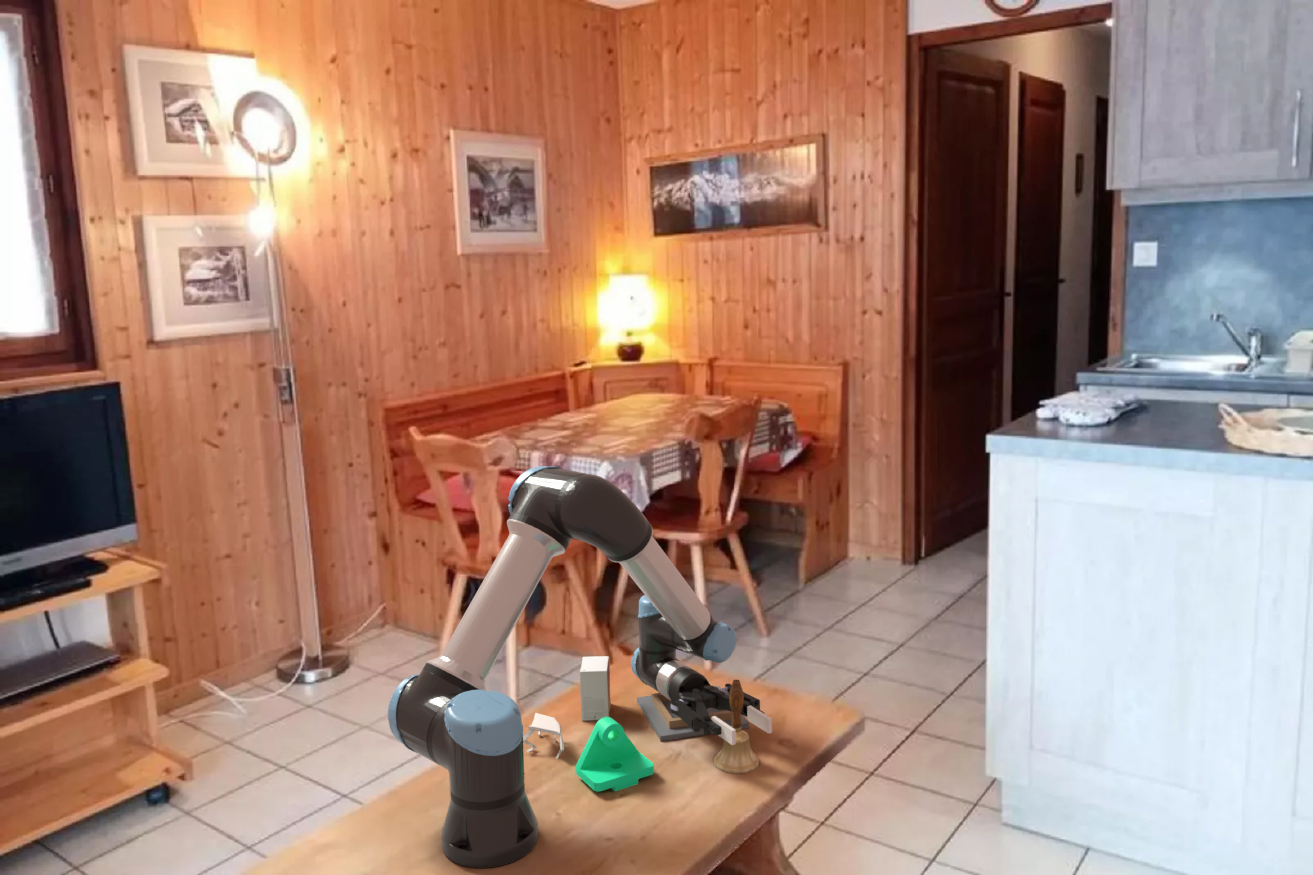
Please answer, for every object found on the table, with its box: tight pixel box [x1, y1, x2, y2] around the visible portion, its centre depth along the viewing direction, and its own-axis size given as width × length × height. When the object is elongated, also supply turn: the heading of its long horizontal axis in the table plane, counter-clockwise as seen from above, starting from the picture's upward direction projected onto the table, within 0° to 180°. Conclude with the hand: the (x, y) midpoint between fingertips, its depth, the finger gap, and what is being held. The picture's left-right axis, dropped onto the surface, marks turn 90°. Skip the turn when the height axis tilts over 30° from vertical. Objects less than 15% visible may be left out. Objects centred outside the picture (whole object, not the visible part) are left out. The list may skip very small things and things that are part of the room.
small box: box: [579, 655, 611, 722], centre depth 209 cm, size 8×6×10 cm
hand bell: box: [713, 679, 760, 774], centre depth 187 cm, size 8×8×16 cm
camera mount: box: [575, 716, 655, 792], centre depth 183 cm, size 12×8×10 cm, turn 121°
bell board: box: [636, 685, 750, 742], centre depth 208 cm, size 18×18×2 cm
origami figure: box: [523, 712, 565, 760], centre depth 195 cm, size 12×8×5 cm
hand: (752, 731), depth 183 cm, fingers open, 7 cm apart
